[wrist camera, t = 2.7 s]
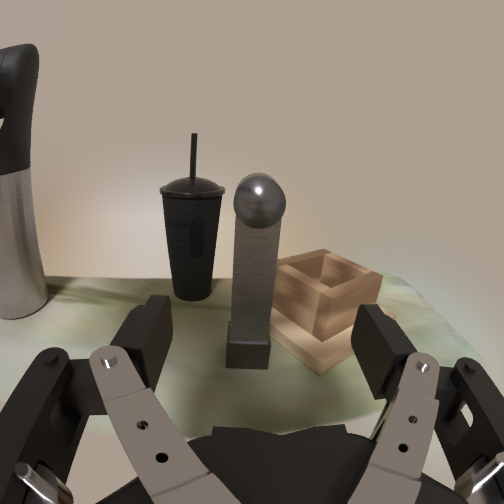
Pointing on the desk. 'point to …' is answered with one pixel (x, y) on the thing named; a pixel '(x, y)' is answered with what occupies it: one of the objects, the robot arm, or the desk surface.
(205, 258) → the drinking cup
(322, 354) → the wooden square box
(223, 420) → the desk surface
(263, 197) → the ball topped joystick
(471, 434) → the robot arm
